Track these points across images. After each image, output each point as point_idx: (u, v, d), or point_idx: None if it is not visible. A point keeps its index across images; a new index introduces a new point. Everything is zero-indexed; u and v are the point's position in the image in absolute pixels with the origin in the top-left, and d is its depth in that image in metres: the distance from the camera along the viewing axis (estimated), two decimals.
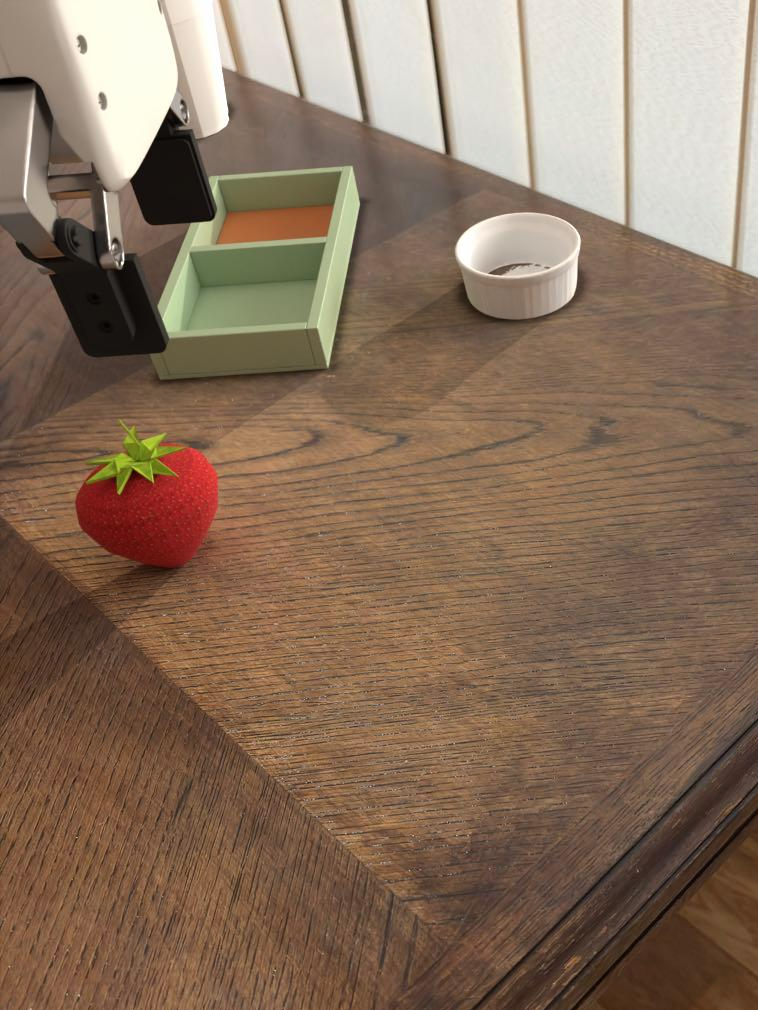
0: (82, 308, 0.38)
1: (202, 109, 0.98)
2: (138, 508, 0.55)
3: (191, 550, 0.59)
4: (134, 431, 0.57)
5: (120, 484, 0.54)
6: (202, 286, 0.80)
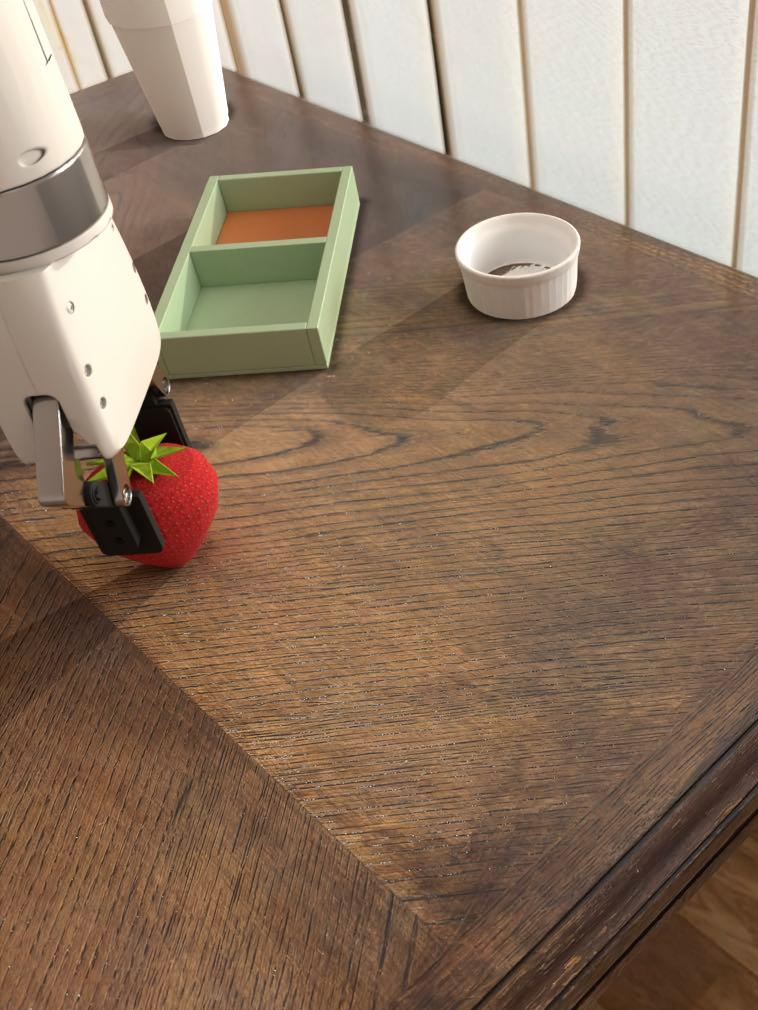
0: (101, 529, 0.53)
1: (202, 109, 0.98)
2: None
3: (191, 550, 0.59)
4: (134, 431, 0.57)
5: None
6: (202, 286, 0.80)
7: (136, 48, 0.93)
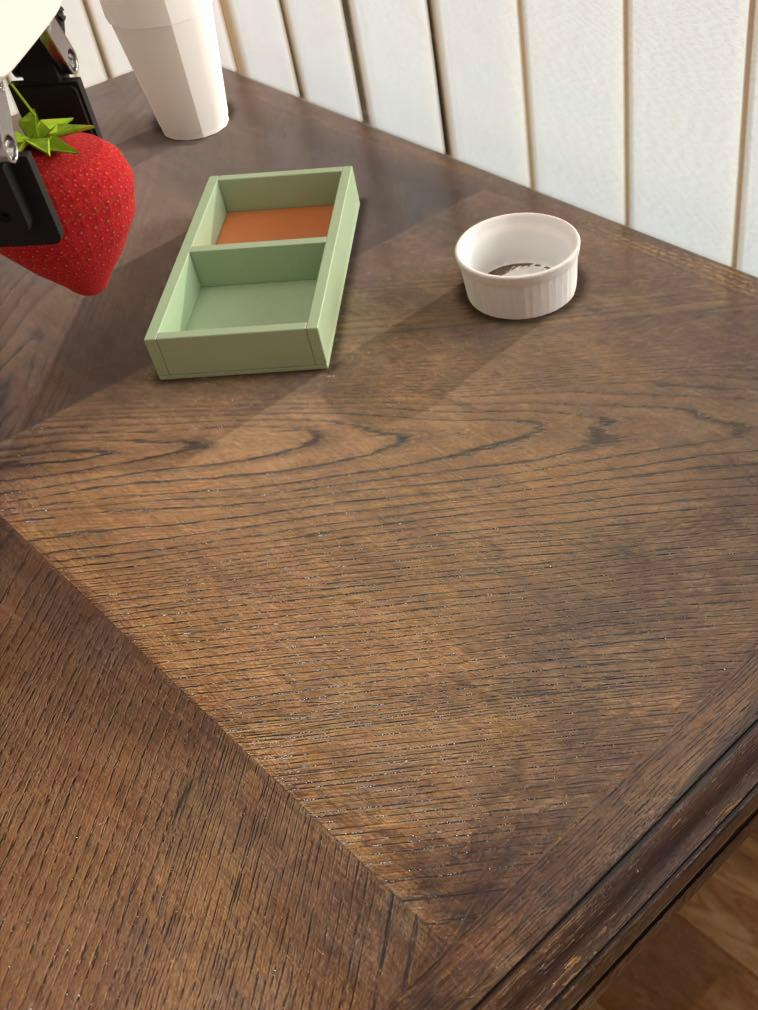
0: None
1: (202, 109, 0.98)
2: None
3: (103, 265, 0.50)
4: (34, 113, 0.48)
5: None
6: (202, 286, 0.80)
7: (136, 48, 0.93)
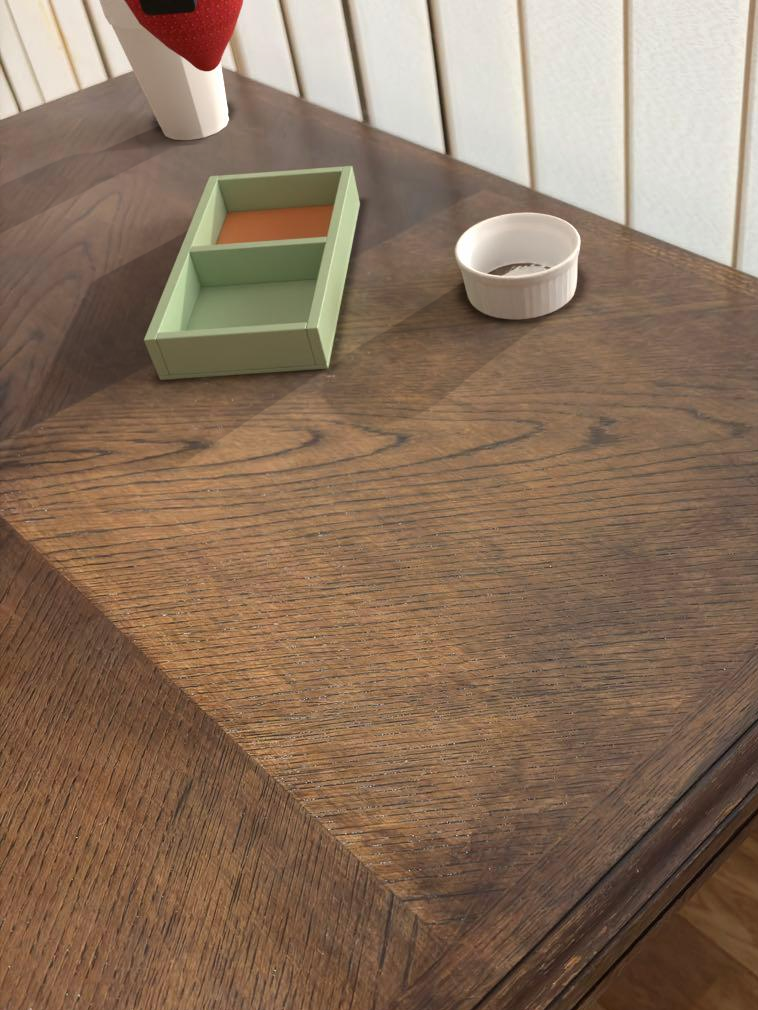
0: None
1: (202, 109, 0.98)
2: None
3: (219, 41, 0.67)
4: None
5: None
6: (202, 286, 0.80)
7: (136, 48, 0.93)
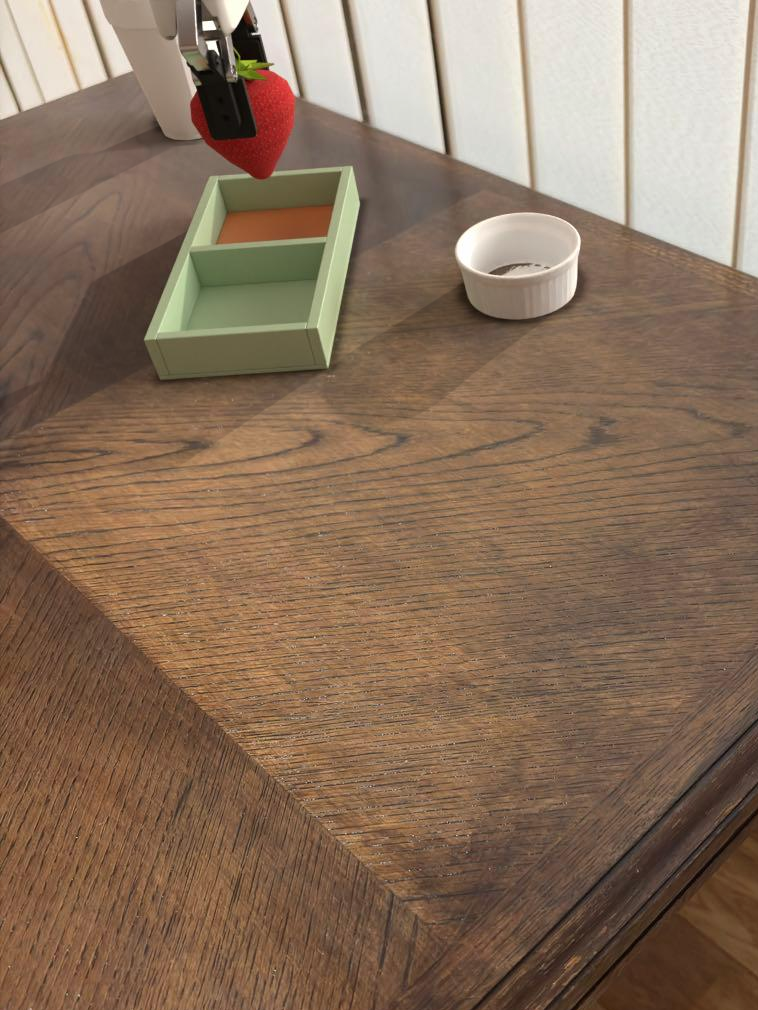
0: (213, 106, 0.71)
1: None
2: None
3: (274, 156, 0.78)
4: None
5: None
6: (202, 286, 0.80)
7: (136, 48, 0.93)
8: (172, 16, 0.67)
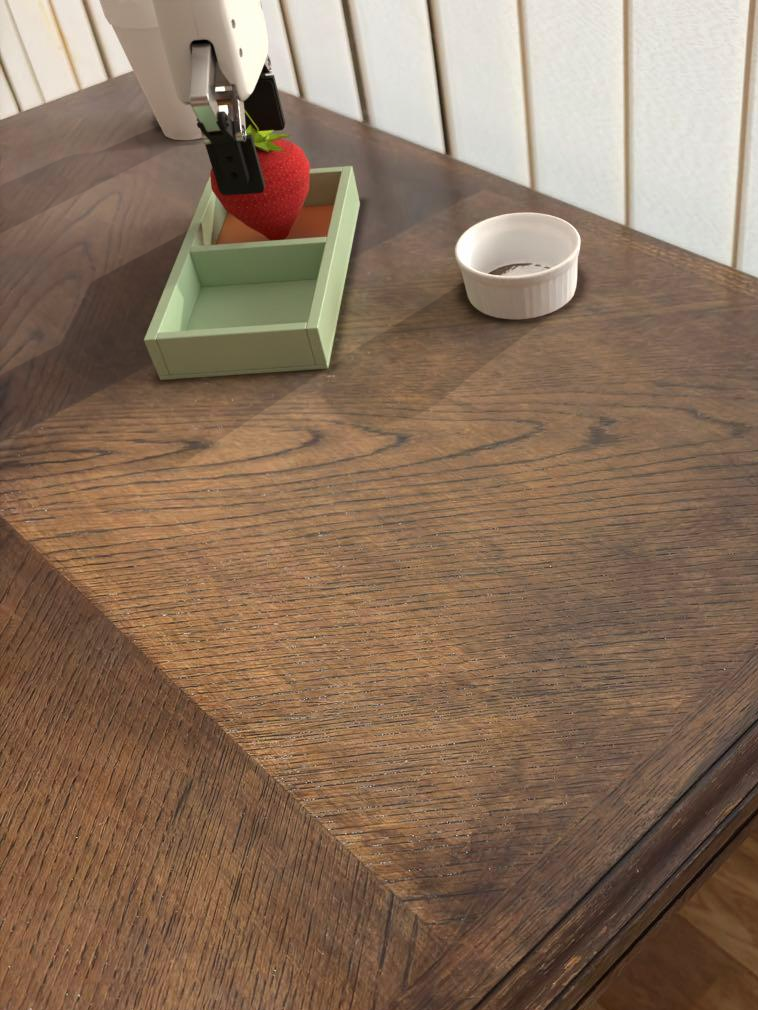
0: (222, 164, 0.73)
1: None
2: None
3: (289, 220, 0.81)
4: (251, 127, 0.79)
5: None
6: (202, 286, 0.80)
7: (136, 48, 0.93)
8: None
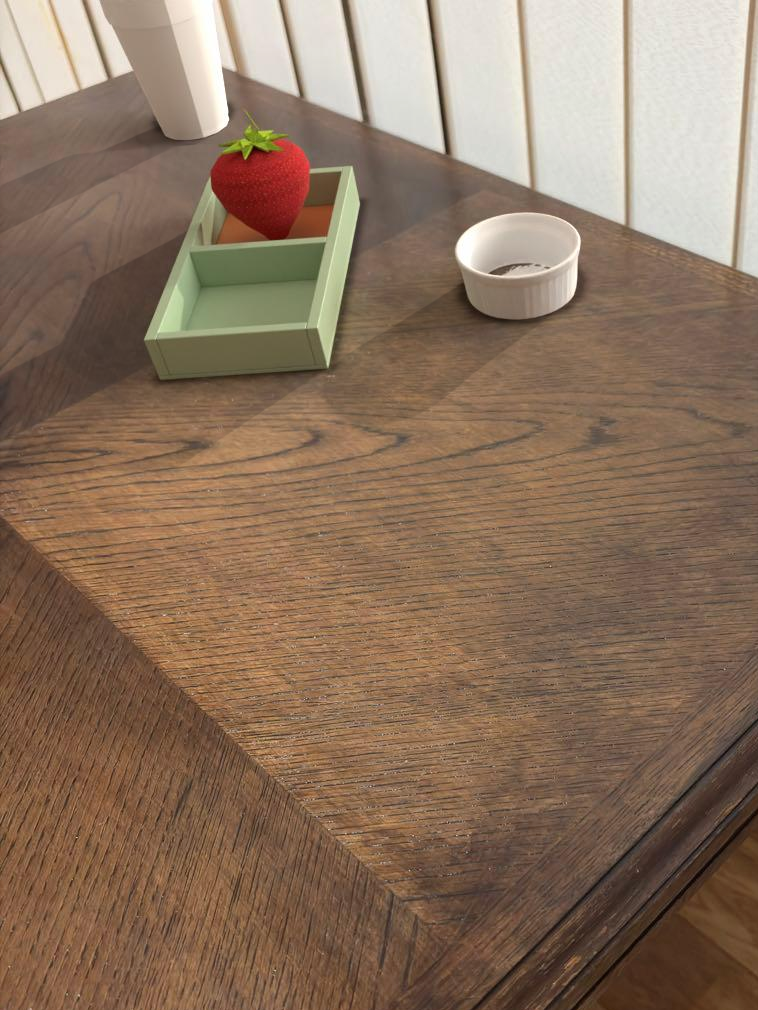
0: None
1: (202, 109, 0.98)
2: (257, 172, 0.77)
3: (289, 220, 0.81)
4: (251, 127, 0.79)
5: (245, 153, 0.77)
6: (202, 286, 0.80)
7: (136, 48, 0.93)
8: None
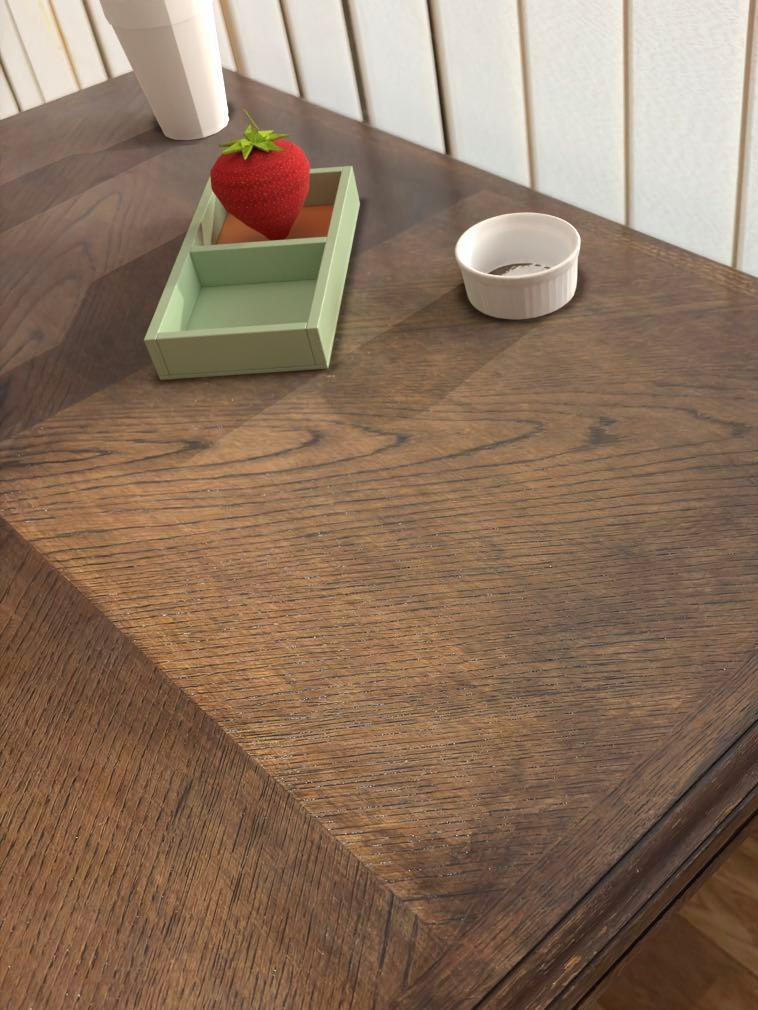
0: None
1: (202, 109, 0.98)
2: (257, 172, 0.77)
3: (289, 220, 0.81)
4: (251, 127, 0.79)
5: (245, 153, 0.77)
6: (202, 286, 0.80)
7: (136, 48, 0.93)
8: None
